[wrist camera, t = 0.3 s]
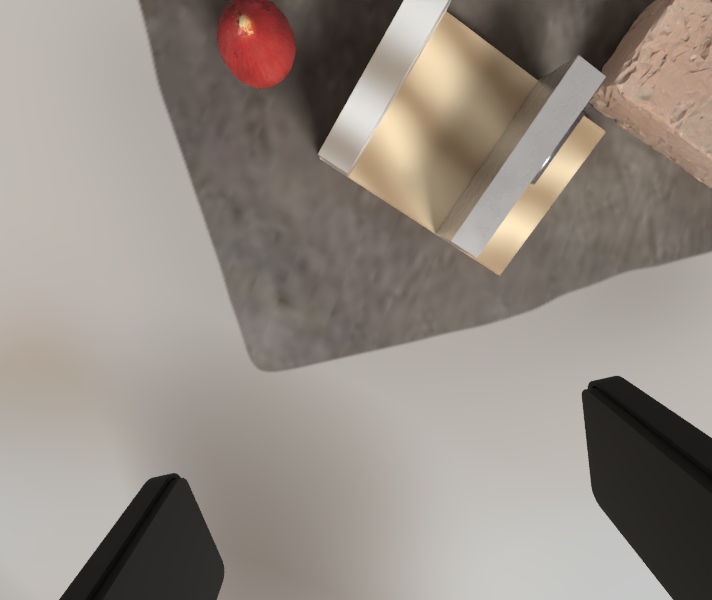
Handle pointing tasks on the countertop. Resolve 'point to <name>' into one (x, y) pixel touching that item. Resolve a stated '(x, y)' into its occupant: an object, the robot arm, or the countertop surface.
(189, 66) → the countertop surface
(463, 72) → the vise base
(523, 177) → the vise jaw
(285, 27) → the onion
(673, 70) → the brick
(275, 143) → the countertop surface
